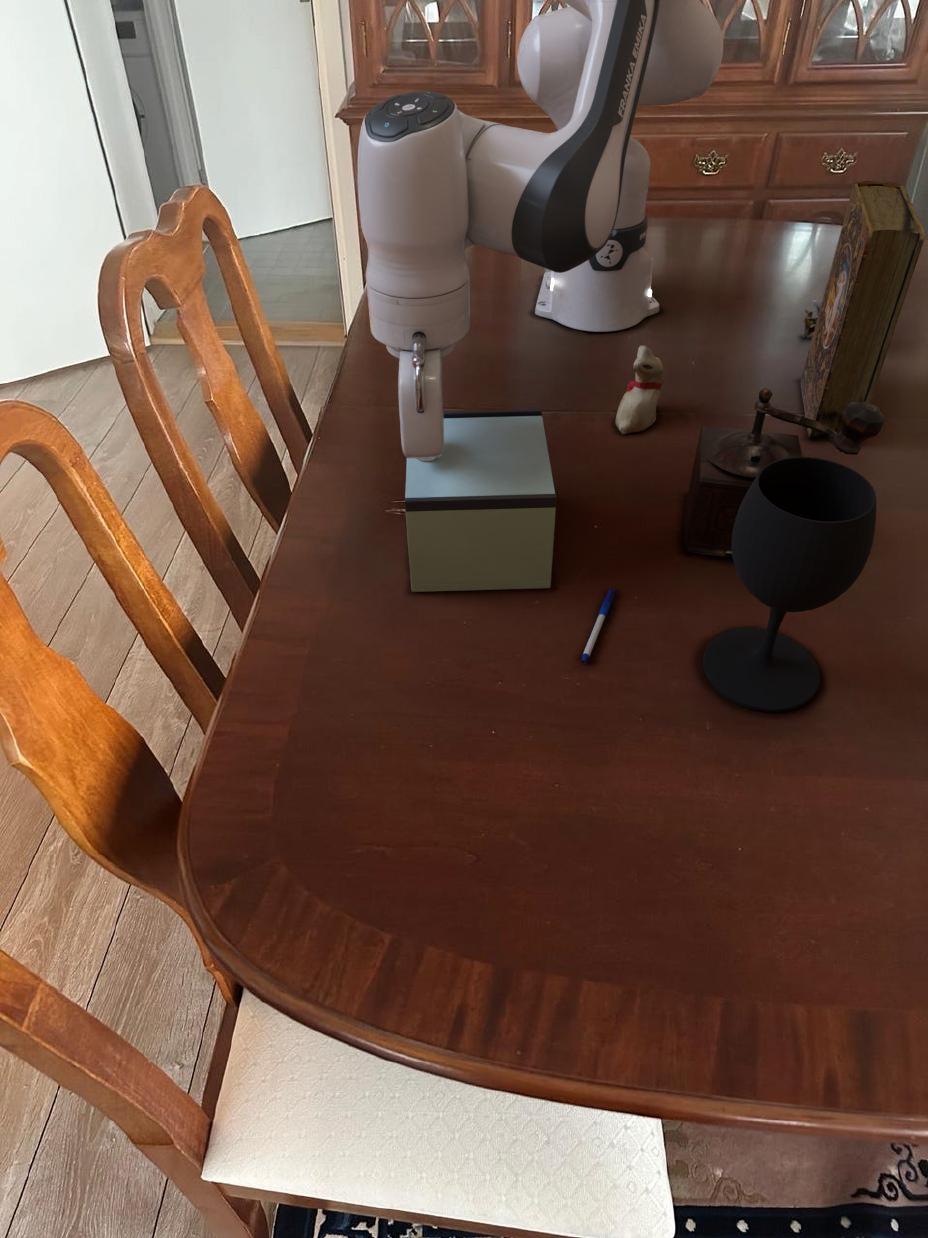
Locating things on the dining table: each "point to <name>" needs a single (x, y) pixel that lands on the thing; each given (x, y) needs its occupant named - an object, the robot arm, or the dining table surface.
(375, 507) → the dining table surface
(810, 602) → the wine glass
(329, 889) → the dining table surface
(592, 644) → the ballpoint pen
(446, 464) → the light blue sliding lid
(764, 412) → the vintage coffee grinder
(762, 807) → the dining table surface
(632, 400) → the chocolate bunny
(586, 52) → the robot arm
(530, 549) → the case
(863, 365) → the book
